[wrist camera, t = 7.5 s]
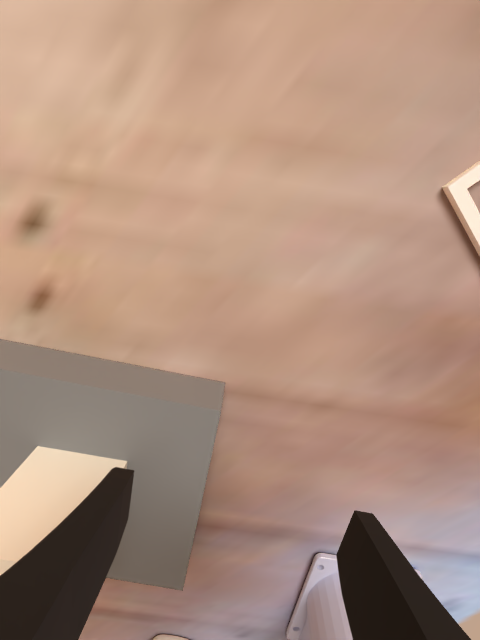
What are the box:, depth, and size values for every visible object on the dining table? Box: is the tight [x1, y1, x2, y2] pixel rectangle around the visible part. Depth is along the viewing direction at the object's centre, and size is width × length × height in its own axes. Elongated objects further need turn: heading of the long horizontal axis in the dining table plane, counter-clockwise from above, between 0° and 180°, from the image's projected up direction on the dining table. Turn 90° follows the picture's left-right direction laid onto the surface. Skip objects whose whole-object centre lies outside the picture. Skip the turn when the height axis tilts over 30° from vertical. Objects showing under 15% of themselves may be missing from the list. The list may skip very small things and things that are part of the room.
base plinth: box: [0, 339, 225, 591], centre depth 21 cm, size 14×14×3 cm
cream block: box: [0, 446, 127, 575], centre depth 17 cm, size 5×5×6 cm
